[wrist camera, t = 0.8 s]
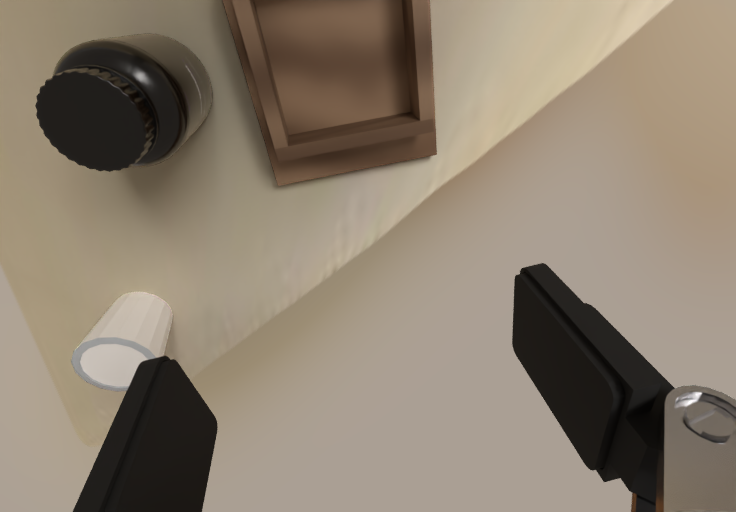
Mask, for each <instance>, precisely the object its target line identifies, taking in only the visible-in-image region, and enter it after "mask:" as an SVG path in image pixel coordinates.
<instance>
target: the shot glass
mask: <svg viewBox="0 0 736 512" xmlns="http://www.w3.org/2000/svg"><path fill="white" fill-rule="evenodd" d="M172 320H173V313H172V309H171V308H170V306H169V305H168V304H167V303H166V301H164V300H163V299H161V298H159V297H158V296H156V295H153V294H150V293H146V292H130V293H127V294H124V295H121V296H120V297H119V298H118V299H116V300H115V301H114V302H113V304H112V305H111V306H110V307H109V309H108V310H107V311H106V312H105V313H104V315H103V316H102V317H101V318H100V320H99V321H98V322H97V323H96V324H95V326H94V327H93V328H92V329H91V331H90V332H89V333H88V334H87V335H86V337H85V338H84V339H83V340H82V342H81V343H80V344H79V345H78V347H77V348H76V349H75V350H74V352H73V356H72V360H71V363H72V365H73V367H74V370H75V372H76V373H77V374H78V375H79V376H80V377H81V378H82V379H84V380H85V381H86V382H88V383H90V384H92V385H94V386H97V387H99V388H102V389H107V390H112V391H127V390H128V387H129V385H130V383H131V381H132V379H133V376H134V374H135V372H136V370H137V367H138V366H139V364H140V363H141V362H142V361H145V360H149V359H154V358H158V357H162V356H164V352H165V348H166V344H167V340H168V336H169V332H170V328H171V324H172Z"/></svg>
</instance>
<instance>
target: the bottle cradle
mask: <svg viewBox="0 0 736 512" xmlns="http://www.w3.org/2000/svg"><path fill="white" fill-rule="evenodd" d="M223 4H224V7H225V10H226V14H227V17H228V20H229V24H230V27H231V30H232V34H233V37H234V40H235V44H236V47H237V50H238V54H239V57H240V60H241V64H242V67H243V71H244V74H245V77H246V81H247V84H248V87H249V91H250V94H251V97H252V101H253V104H254V107H255V111H256V114H257V117H258V121H259V124H260V127H261V131H262V134H263V137H264V141H265V144H266V147H267V151H268V154H269V157H270V161H271V164H272V167H273V171H274V174H275V177H276V181H277V184H278V186H279V185H284V184H289V183H294V182H300V181H305V180H310V179H315V178H320V177H325V176H330V175H335V174H340V173H345V172H350V171H355V170H360V169H366V168H371V167H376V166H381V165H386V164H391V163H396V162H401V161H406V160H411V159H416V158H421V157H426V156H431V155H437V150H436V128H435V106H434V84H433V62H432V40H431V18H430V0H223Z"/></svg>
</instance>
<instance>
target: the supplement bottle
mask: <svg viewBox="0 0 736 512" xmlns="http://www.w3.org/2000/svg"><path fill="white" fill-rule="evenodd" d="M211 104H212V87H211V83H210V79H209V76H208V74H207V72H206V70H205V68H204V66H203V65H202V63H201V62H200V60H199V59H198V58H197V57H196V56H195V55H194V54H193V53H192V52H191V51H190V50H189V49H188V48H187V47H185V46H184V45H183V44H181V43H179V42H178V41H176V40H174V39H172V38H169V37H166V36H163V35H158V34H137V35H129V36H121V37H114V38H106V39H99V40H92V41H88V42H85V43H82V44H79V45H77V46H75V47H73V48H71V49H70V50H69V51H67V52H66V53H65V54H64V55H63V56H62V57H61V59H60V60H59V62H58V63H57V65H56V67H55V70H54V72H53V77H52V78H51V79H47V80H46V82H45V85H44V86H42V87H40V93H39V94H38V95H37V103H36V105H35V106H36V109H37V115H36V116H37V118H38V119H39V125H40V127H41V128H42V129H43V130H44V135H45V136H46V137H47V138H48V139H49V140H50V143H51V144H52V145H53V146H54V147H56V148H57V149H58V151H59V152H60V153H61V154H63V155H65V156H66V157H67V158H68V159H69V160H72V161H75V162H76V163H77V164H79V165H82V166H86V167H87V168H89V169H96V170H98V171H103V170H106V171H109V172H110V171H113V170H121V169H123V168H128V167H147V166H152V165H156V164H158V163H161V162H163V161H165V160H167V159H168V158H170V157H171V156H172V155H173V154H174V153H176V152H177V151H178V150H179V148H180V147H181V146H182V145H183V144H184V143H185V142H186V141H187V140H188V138H189V137H190V136H191V135H192V134H193V133H194V132H195V131H196V129H197V128H198V127H199V126H200V125H201V124H202V123H203V121H204V120H205V118H206V117H207V115H208V113H209V111H210V108H211Z"/></svg>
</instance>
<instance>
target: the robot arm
mask: <svg viewBox="0 0 736 512" xmlns="http://www.w3.org/2000/svg"><path fill="white" fill-rule="evenodd" d="M512 340H513V341H512V344H513V348H514V352H515V354H516V356H517V357H518V359H519V360H520V362H521V364H522V365H523V367H524V368H525V370H526V371H527V373H528V375H529V376H530V378H531V380H532V381H533V383H534V384H535V386H536V387H537V389H538V391H539V392H540V394H541V395H542V397H543V398H544V400H545V402H546V403H547V405H548V406H549V408H550V410H551V411H552V413H553V414H554V416H555V417H556V419H557V421H558V422H559V424H560V425H561V427H562V429H563V430H564V432H565V433H566V435H567V437H568V438H569V440H570V441H571V443H572V444H573V446H574V447H575V449H576V451H577V452H578V454H579V456H580V457H581V459H582V460H583V462H584V463H585V465H586V466H587V467H588V468H589V469H590V470H597V472H598V474H599V475H600V477H601V478H602V480H603V481H604V482H607V481H610V480H614V479H618V478H621V479H622V481H623V482H624V484H625V485H626V487H627V488H628V490H629V491H631V492H632V505H631V512H736V400H735V399H733V398H731V397H730V396H728V395H726V394H724V393H722V392H719V391H716V390H713V389H711V388H707V387H701V386H696V385H692V386H681V387H678V388H674V387H673V386H672V385H671V384H670V383H669V382H668V381H667V380H666V379H665V378H664V377H663V376H662V375H661V374H660V373H659V372H658V371H657V370H656V369H655V368H654V367H653V366H652V365H651V364H650V363H649V362H648V361H647V360H646V359H645V358H644V357H643V356H642V355H641V354H640V353H639V352H638V351H637V350H636V349H635V348H634V347H633V346H632V345H631V344H630V343H629V342H628V341H627V340H626V339H625V338H624V337H623V336H622V335H621V334H620V333H619V332H618V331H617V330H616V329H615V328H614V327H613V326H612V325H611V324H610V323H609V322H608V321H607V320H606V319H605V318H604V317H603V316H602V315H601V314H600V313H599V312H598V311H597V310H596V309H595V308H594V307H592V306H591V305H589V304H587V303H583V302H582V301H581V300H580V299H579V298H578V297H577V296H576V295H575V294H574V293H573V292H572V291H571V289H570V288H569V287H568V286H566V284H565V283H563V281H562V280H561V279H560V278H559V277H558V276H557V275H556V274H555V273H554V272H553V271H552V270H551V269H550V268H549V267H548V266H547V265H546V264H544V263H542V264H538V265H533V266H529V267H525V268H522V269H521V271H520V274H519V275H516V276H515V286H514V313H513V339H512ZM216 434H217V421H216V418H215V416H214V415H213V413H212V412H211V410H210V409H209V407H208V406H207V404H206V403H205V402H204V400H203V399H202V397H201V396H200V394H199V393H198V391H197V390H196V389H195V387H194V386H193V384H192V383H191V381H190V380H189V378H188V377H187V375H186V374H185V372H184V371H183V370H182V368H181V367H180V365H179V364H178V362H177V361H176V360H174V359H173V360H170V359H169V358H168V357H167V356H162V357H158V358H154V359H149V360H145V361H142V362H141V363H140V364H139V366H138V367H137V370H136V372H135V374H134V376H133V379H132V381H131V383H130V385H129V387H128V390H127V392H126V394H125V396H124V399H123V401H122V403H121V405H120V408H119V410H118V412H117V414H116V416H115V419H114V421H113V423H112V425H111V428H110V430H109V432H108V434H107V436H106V439H105V441H104V443H103V445H102V448H101V450H100V452H99V454H98V457H97V459H96V461H95V463H94V465H93V468H92V470H91V472H90V475H89V477H88V479H87V481H86V483H85V485H84V488H83V490H82V492H81V495H80V497H79V499H78V501H77V503H76V506H75V508H74V510H73V512H202V508H203V502H204V497H205V492H206V487H207V482H208V476H209V471H210V466H211V460H212V455H213V450H214V445H215V440H216Z"/></svg>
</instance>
